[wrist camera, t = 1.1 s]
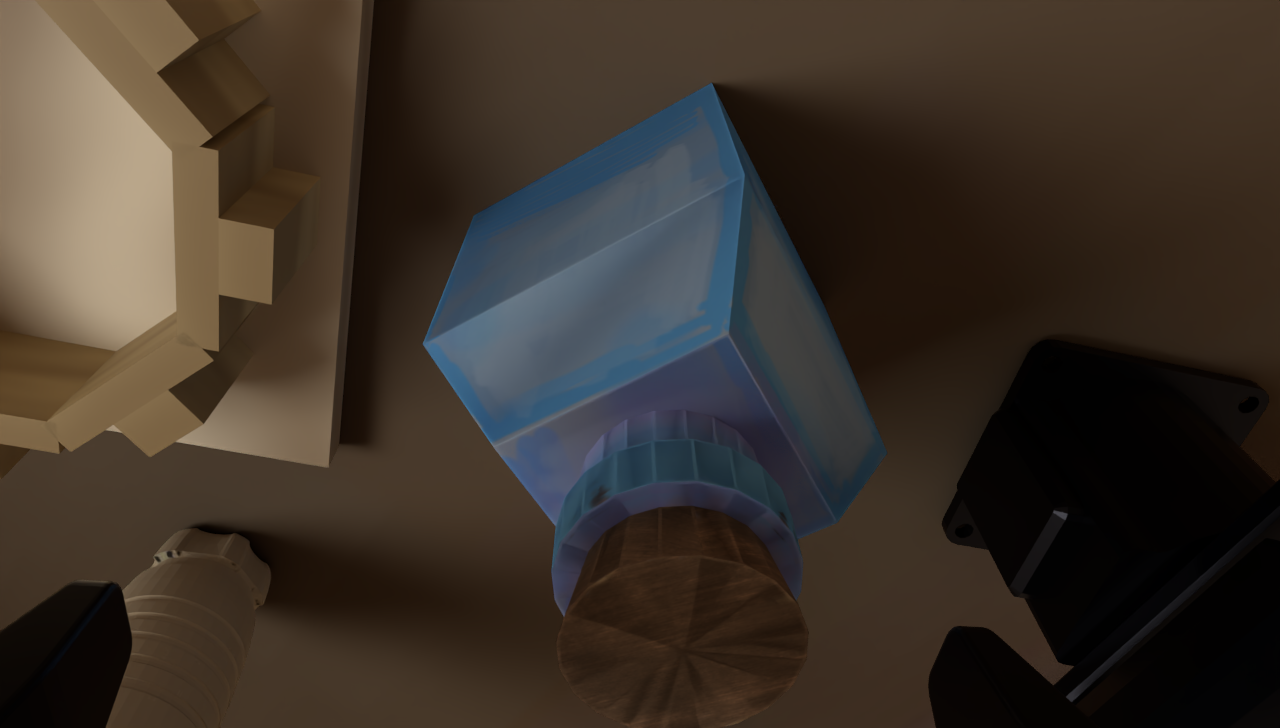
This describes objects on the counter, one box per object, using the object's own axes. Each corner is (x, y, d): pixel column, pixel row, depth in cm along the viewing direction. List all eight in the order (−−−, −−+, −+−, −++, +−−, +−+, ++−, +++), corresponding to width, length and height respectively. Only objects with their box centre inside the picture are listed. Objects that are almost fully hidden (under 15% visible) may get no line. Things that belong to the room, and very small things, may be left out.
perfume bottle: (607, 409, 24) (594, 851, 13) (474, 215, 21) (327, 583, 11) (823, 305, 22) (997, 711, 12) (711, 82, 20) (810, 358, 9)
